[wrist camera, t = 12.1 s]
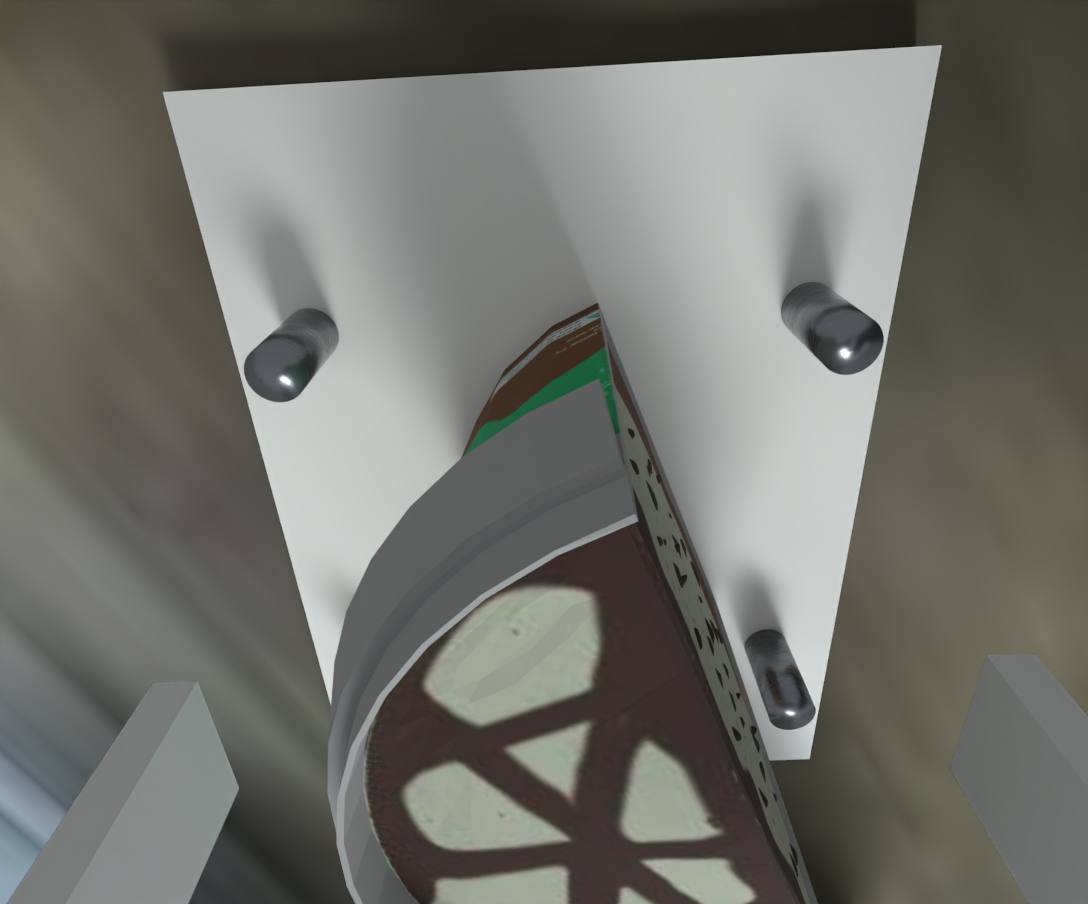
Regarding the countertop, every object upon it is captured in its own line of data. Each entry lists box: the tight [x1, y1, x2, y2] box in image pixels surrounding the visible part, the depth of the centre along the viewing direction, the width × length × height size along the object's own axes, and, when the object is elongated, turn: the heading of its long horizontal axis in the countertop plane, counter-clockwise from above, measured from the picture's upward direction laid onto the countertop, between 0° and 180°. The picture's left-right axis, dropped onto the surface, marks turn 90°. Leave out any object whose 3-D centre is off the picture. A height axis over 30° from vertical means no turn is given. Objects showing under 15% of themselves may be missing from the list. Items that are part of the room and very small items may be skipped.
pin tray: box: [163, 45, 942, 760], centre depth 17 cm, size 15×20×4 cm
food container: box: [327, 303, 818, 904], centre depth 14 cm, size 12×6×10 cm, turn 23°
